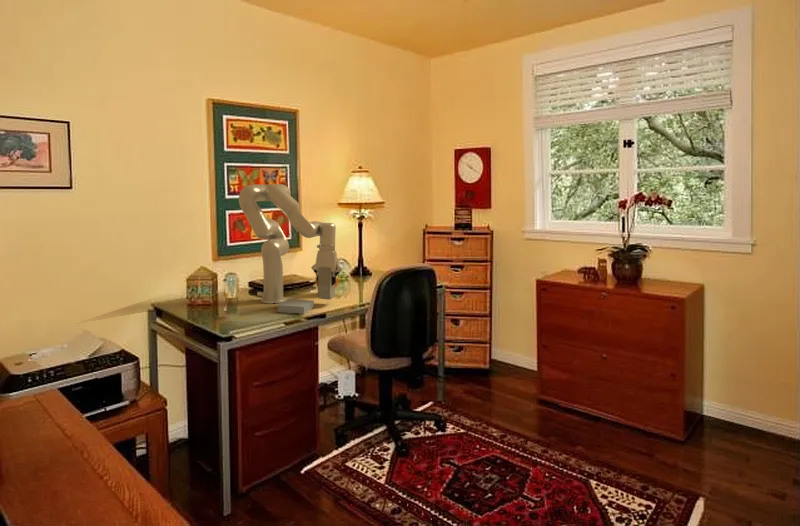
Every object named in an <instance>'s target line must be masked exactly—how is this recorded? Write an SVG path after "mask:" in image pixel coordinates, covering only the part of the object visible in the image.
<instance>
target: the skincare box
mask: <svg viewBox="0 0 800 526" xmlns="http://www.w3.org/2000/svg"><path fill="white" fill-rule="evenodd" d="M332 277H333V275H332V272H331V268H323V267H319V268H318V287H317V299H319V300H329V301H331V300H332V299H333V298H334V297H335V296H336V293H335V284H334V285H332Z"/></svg>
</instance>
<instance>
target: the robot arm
mask: <svg viewBox="0 0 800 526" xmlns="http://www.w3.org/2000/svg"><path fill="white" fill-rule="evenodd" d="M257 202H258V203H259V202H272V203H273V205H275V206H276V207H277V208H278V209H279V210H280V211H281V212H282V213H283V214H284V215H285V216H286V218H287V220H288V221H289V223H290V225H291V226H292V227H293V229H295V230H296V232H297V233H298V234H300V235H301V236H302V237H304V238H307V239H311V238H316V237H319V244H317V245H316V248H318V250H317V253H316V258H315V263H314V264H313V265H312V266H311V267H310V269H312V271H313V272H314V274H315V276H316V275H317V282H318V268H319V267H323V268H331V272H332V275H333V277H332V285H334V284H335V283H336V276H337V275H340V274H341V273H342V271H343V268H342V267H341V266H340V265H339V263H338V255H337V250H336V226H337V225H336V224H335V223H334V222H322V221H321V222H320V221H315V220H314V221H309V220H308V219H307V218H306V217H305V216H304V215H303V214H302V213H301V211H300V203H299V202H298V201H297V200H296V199H295V198H294V197H293V196H292V195H291V191H290V188H289V187H288V186H287V185H285V184H282V183H278V184H277V183H275V184H264V183H263V184H261V183H259V184H248V185H246V186H244V187H243V188H242V189H241V190H240V192H239V194H238V204H239V207H240V209H241V211H242V213H243V214H244V216H245V218H246V220H247V222H248V224H249V225H250V227H251V230H252V231H253V233H254V235H255V236H256V238H258V239H260V240H265V239H266V241H264V242H263V244H262V245H261V248H260V249H261V258H262V266H263V268H262V271H263V292H262V291H257V293H256V295H257V297H261V299H260V302H261V303H262V304H263V303H264V304H268V305H269V304H273V303H275V304H281V303H282V302H284V301H286V300H287V297H285V296H284V271H283V270H284V267H283V260H282V256H285V255H286V254H287V253H288V252H289V249H290V243H289V241H288V238H287V237H286V235H285V234H284V231H283V229H282V228H281V226H280V224H279V222H278V221H276V220H274V219H272V218H267V217H266V216H265V214H264V211H263V209H261V207H260V206H259V205H258V204H257ZM337 269H338V271H337V272H336V271H335V270H337Z"/></svg>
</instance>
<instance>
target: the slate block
mask: <svg viewBox="0 0 800 526" xmlns="http://www.w3.org/2000/svg"><path fill="white" fill-rule="evenodd" d="M313 307H314V308H315V301H314V300H309V299H308V300H307V299H296V298H295V299H293V298H288V299H286V301H284V302H282V303H278V304H277V313H278V312H287V313H286V314H291V313H299V314H298V315H305V314H306V312H307V311H308V312H310V311H311V310H313V309H314V308H313ZM312 308H313V309H312ZM310 309H311V310H310ZM309 310H310V311H309ZM308 312H307V313H308Z"/></svg>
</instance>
